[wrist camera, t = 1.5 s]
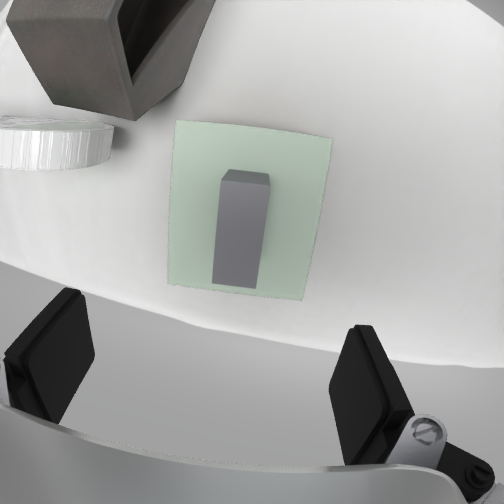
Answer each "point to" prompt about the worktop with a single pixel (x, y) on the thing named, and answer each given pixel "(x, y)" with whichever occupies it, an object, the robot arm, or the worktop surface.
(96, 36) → the planter
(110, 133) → the cutout
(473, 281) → the worktop surface
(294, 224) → the lid
